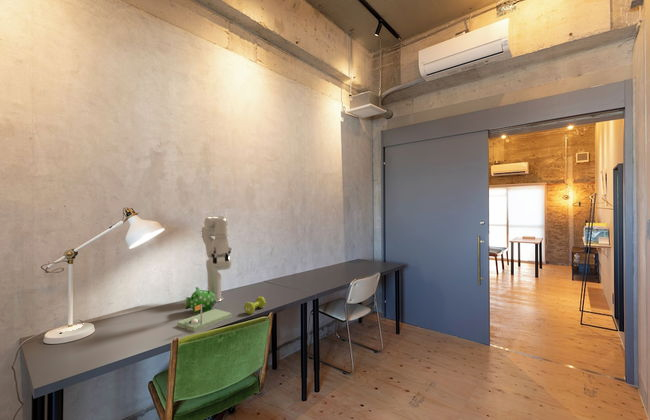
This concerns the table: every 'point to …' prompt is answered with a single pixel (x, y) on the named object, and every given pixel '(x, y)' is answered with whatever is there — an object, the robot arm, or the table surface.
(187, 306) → the piggy bank
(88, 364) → the table surface
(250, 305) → the dumbbell
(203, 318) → the green
